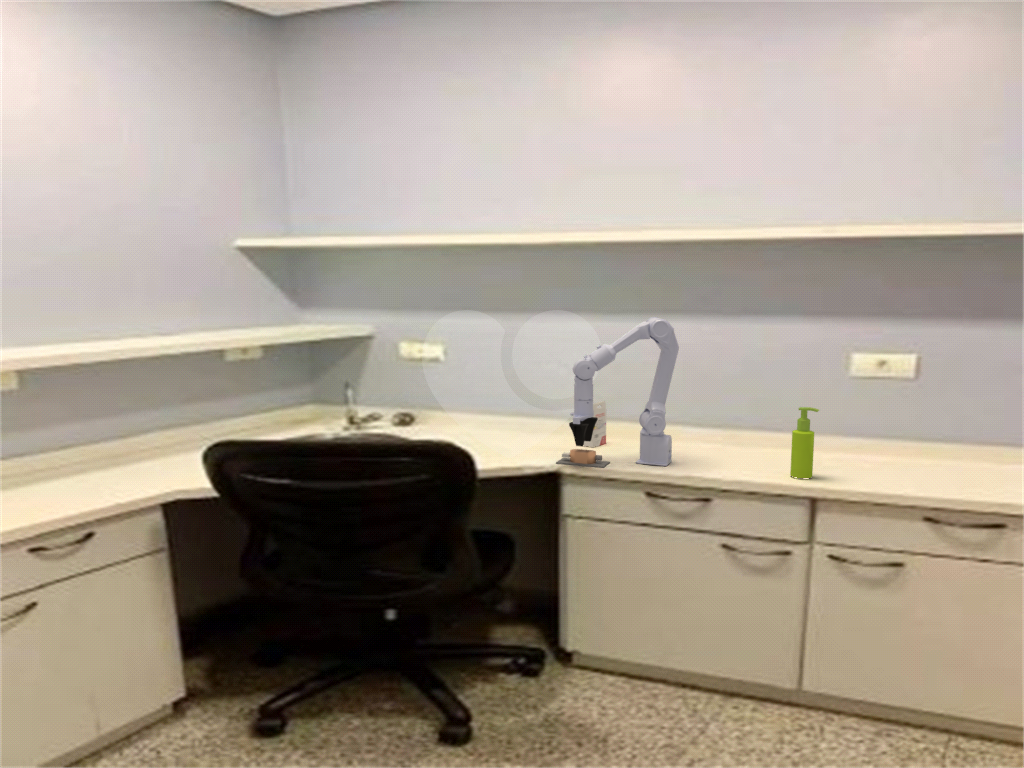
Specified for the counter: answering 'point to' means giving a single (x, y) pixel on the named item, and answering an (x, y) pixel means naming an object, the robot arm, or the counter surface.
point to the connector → (582, 456)
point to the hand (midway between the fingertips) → (583, 443)
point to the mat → (567, 461)
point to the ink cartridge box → (598, 426)
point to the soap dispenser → (802, 446)
